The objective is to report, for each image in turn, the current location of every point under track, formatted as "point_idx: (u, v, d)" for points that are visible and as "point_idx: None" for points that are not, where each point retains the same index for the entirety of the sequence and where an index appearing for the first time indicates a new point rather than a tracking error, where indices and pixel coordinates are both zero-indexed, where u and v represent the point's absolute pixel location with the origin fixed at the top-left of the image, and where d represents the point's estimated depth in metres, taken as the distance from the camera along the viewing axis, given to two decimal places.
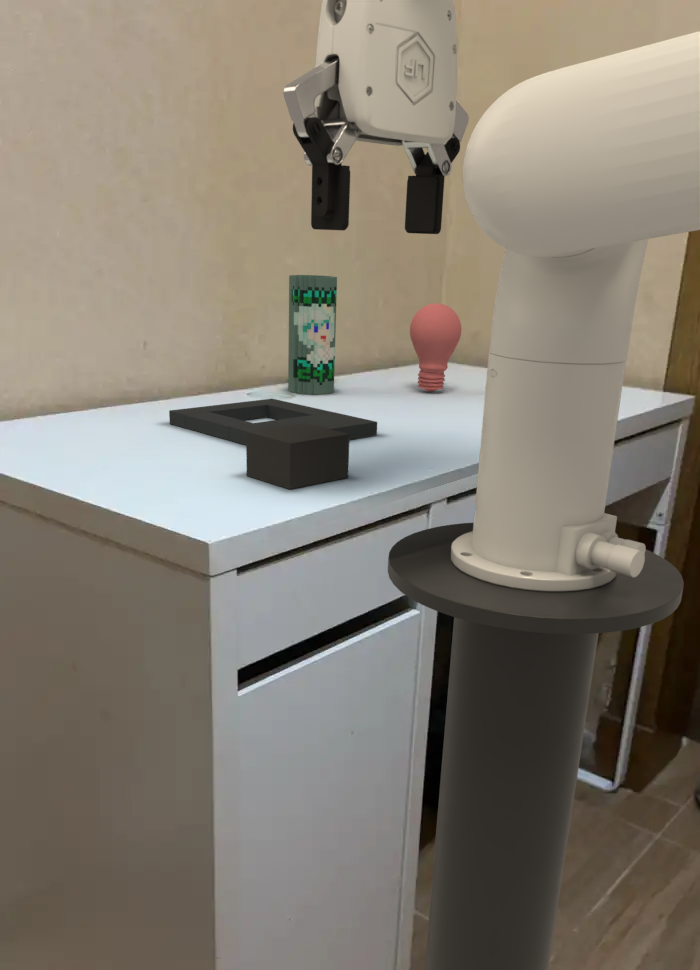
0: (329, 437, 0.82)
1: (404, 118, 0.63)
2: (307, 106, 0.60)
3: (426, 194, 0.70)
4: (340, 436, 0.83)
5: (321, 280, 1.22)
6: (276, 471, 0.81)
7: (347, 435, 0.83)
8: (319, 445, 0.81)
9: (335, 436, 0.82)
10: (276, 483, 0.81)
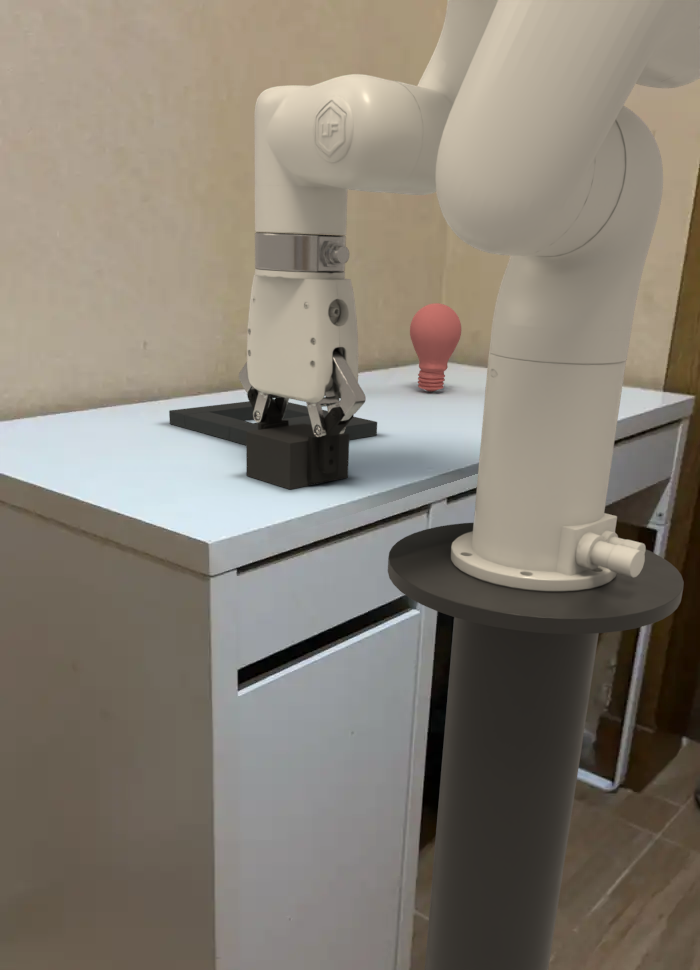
0: None
1: None
2: None
3: None
4: (340, 436, 0.83)
5: None
6: (276, 471, 0.81)
7: (347, 435, 0.83)
8: None
9: None
10: (276, 483, 0.81)
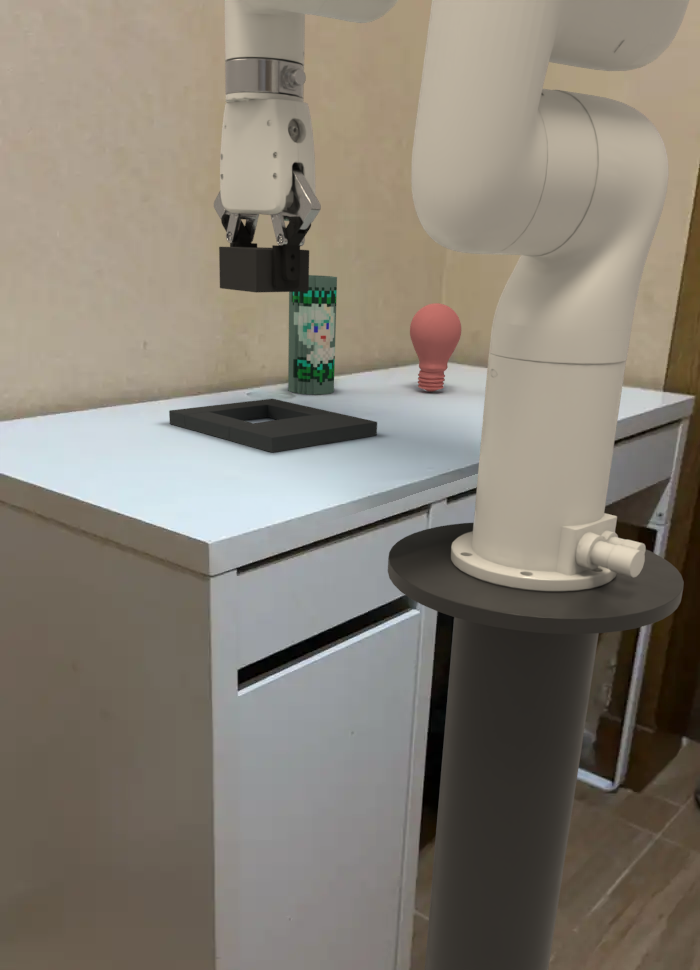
0: None
1: None
2: None
3: None
4: (301, 251, 0.95)
5: (321, 280, 1.22)
6: (245, 278, 0.93)
7: (307, 251, 0.95)
8: None
9: None
10: (244, 289, 0.94)
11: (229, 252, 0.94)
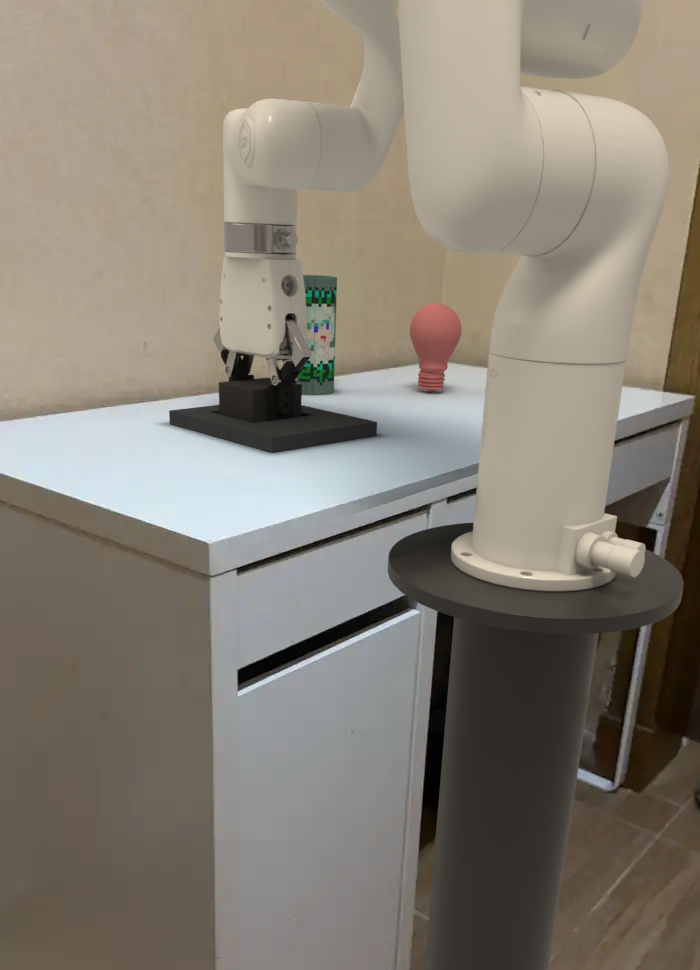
0: None
1: None
2: None
3: None
4: (294, 386, 1.03)
5: (321, 280, 1.22)
6: (242, 413, 1.02)
7: (300, 385, 1.04)
8: None
9: None
10: None
11: (228, 388, 1.02)
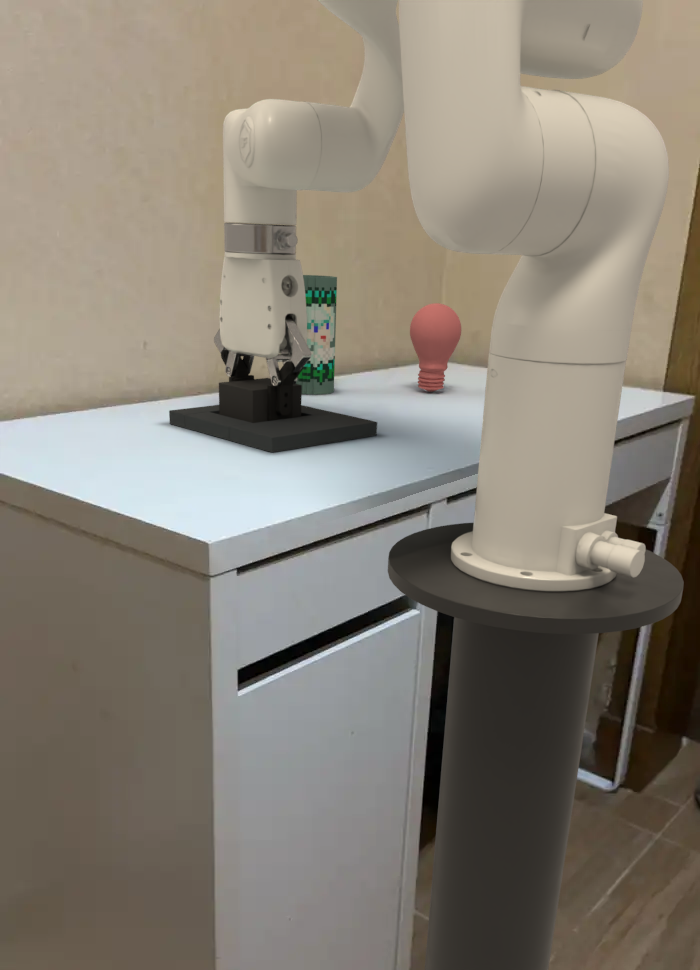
0: None
1: None
2: None
3: None
4: (294, 386, 1.03)
5: (321, 280, 1.22)
6: (242, 413, 1.02)
7: (300, 386, 1.04)
8: None
9: None
10: None
11: (228, 389, 1.02)
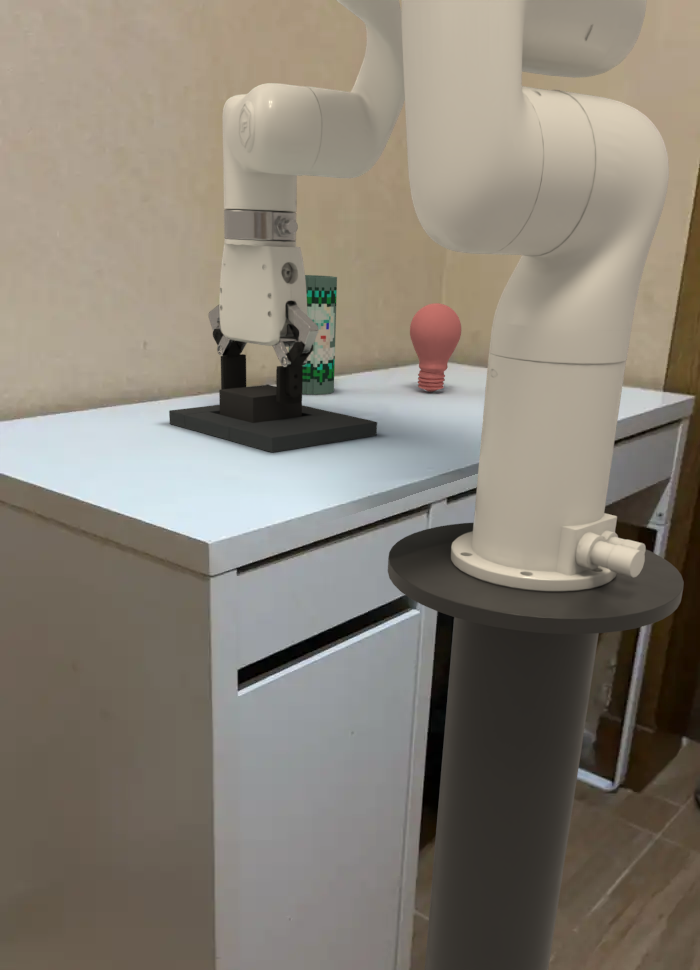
0: None
1: None
2: None
3: (239, 367, 1.06)
4: None
5: (321, 280, 1.22)
6: None
7: None
8: None
9: None
10: None
11: (228, 396, 1.02)
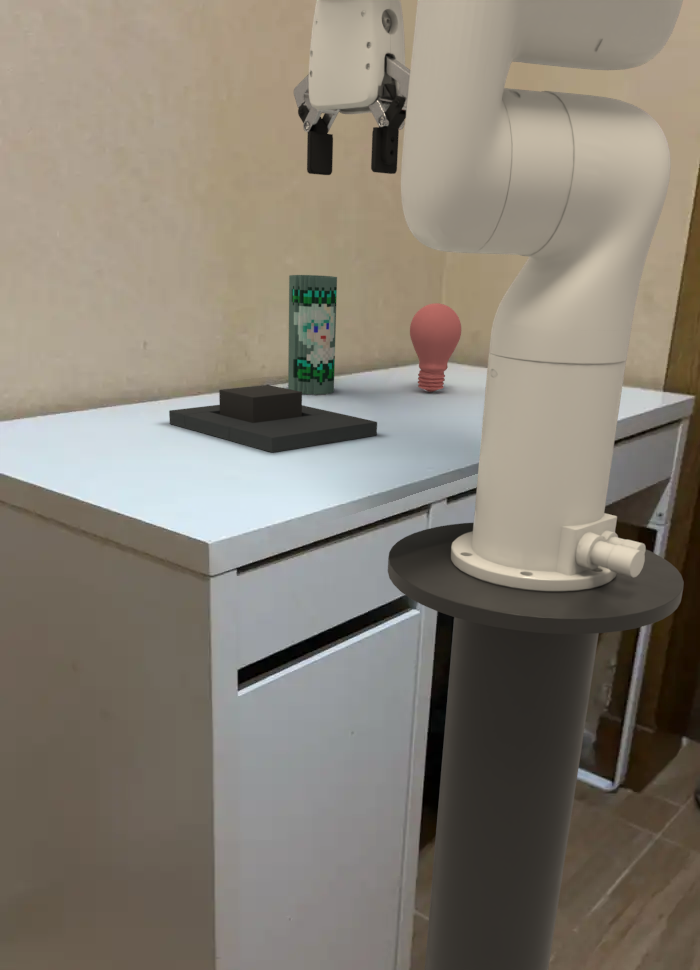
0: (285, 394, 1.03)
1: None
2: None
3: (326, 146, 1.01)
4: (294, 393, 1.03)
5: (321, 280, 1.22)
6: None
7: (300, 393, 1.04)
8: (276, 399, 1.02)
9: (290, 393, 1.03)
10: None
11: (228, 396, 1.02)
